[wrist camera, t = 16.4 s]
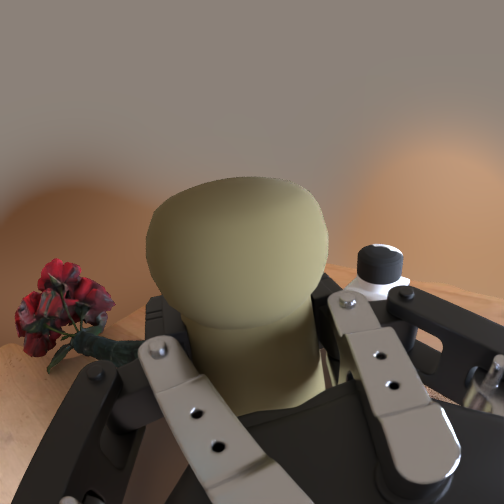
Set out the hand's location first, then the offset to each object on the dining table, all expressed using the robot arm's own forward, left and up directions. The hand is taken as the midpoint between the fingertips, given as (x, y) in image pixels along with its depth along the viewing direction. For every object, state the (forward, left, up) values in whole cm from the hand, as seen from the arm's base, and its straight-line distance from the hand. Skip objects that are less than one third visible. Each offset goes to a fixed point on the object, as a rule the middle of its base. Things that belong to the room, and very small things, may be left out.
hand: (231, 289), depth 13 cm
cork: (0, +3, -6) cm, 7 cm away
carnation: (+14, -24, -23) cm, 36 cm away
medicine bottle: (-22, -18, -23) cm, 37 cm away
